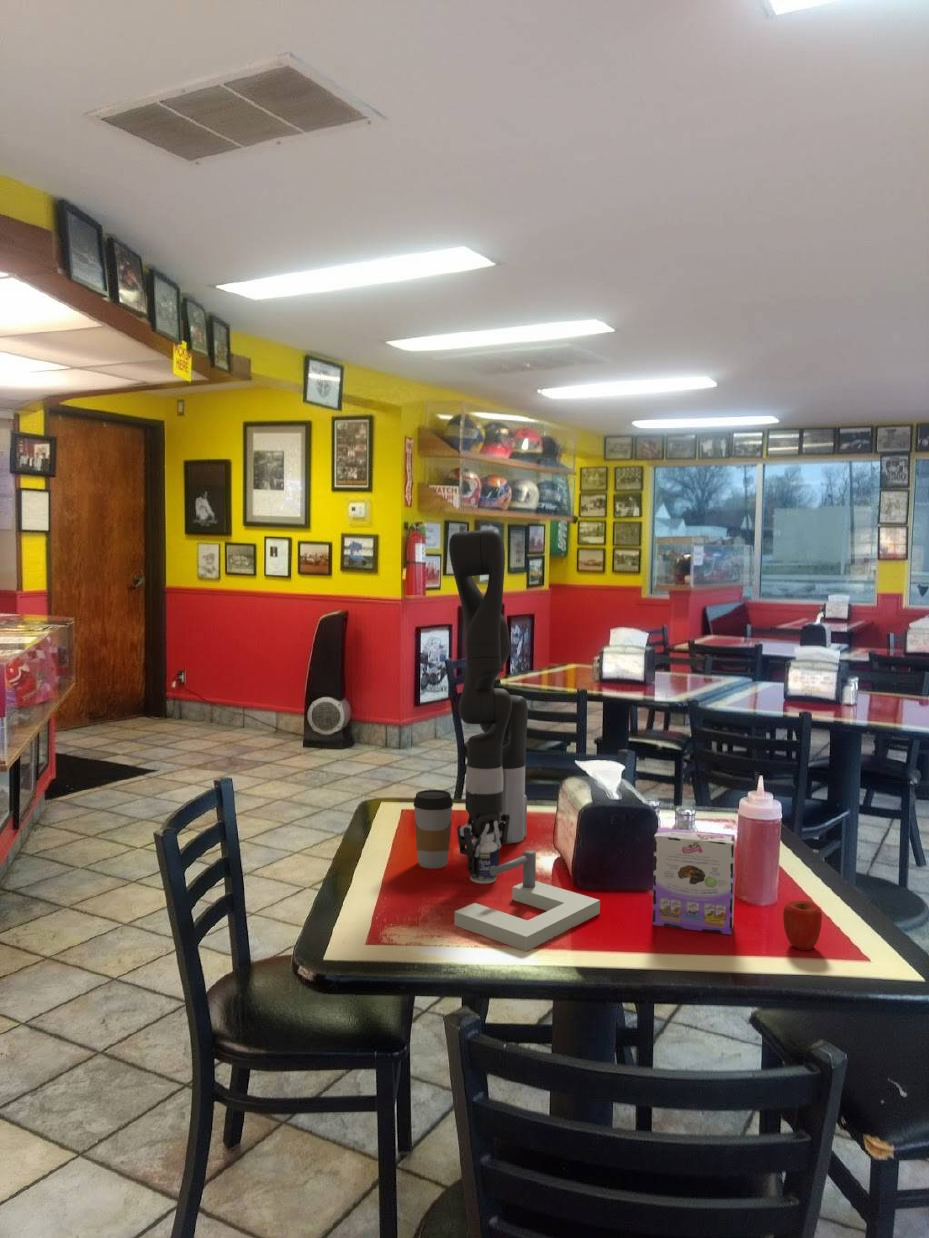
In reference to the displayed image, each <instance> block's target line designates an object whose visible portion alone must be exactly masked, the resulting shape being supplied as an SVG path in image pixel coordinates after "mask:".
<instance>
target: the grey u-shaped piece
mask: <svg viewBox="0 0 929 1238" xmlns="http://www.w3.org/2000/svg"><path fill="white" fill-rule="evenodd" d="M522 854H523V855H521V856H519V857H516V858H514V859H511V860H509V861H507V862H504V863H502V864H498V866H496V867H494V868H491V869H490V874H491V876H495V875H497V876H498V875H500V874H503V873H505V872H507V871H510V870H512V869H514V868H517V867H519V866H522V882H521V883H518V884H516V885H514V886H512V900H513V901H516V902H519V903H522V904H525V905H527V906H530V907H531V906H532V907H534V908H537V909H540V910H544V911H545V912H543V913H541V914H538V915H536V916H534V917H532V918H531V919H528V920H527V919H524V918H521V917H519V916H515V915H512V914H509V913H506V912H503V911H500V910H497V909H495V908H492V907H488V906H485V905H483V904H479V903H477V902H473V903H471V904H468V905H466V906H464V907H462V908H460V909H458V910H454V922H453V923H454V925H453V926H456V927H458V928H460V929H463V930H467V931H469V932H472V933H474V934H477V935H480V936H483V937H485V938H488V939H491V940H493V941H496V942H500V943H502V944H505V945H508V946H510V947H513V948H516V949H519V950H522V951H524V952H528V951H530V950H532V949H534V948H536V947H538V946H540V945H542V944H544V943H546V942H548V941H549V939H550V940H552V939H553V938H555V937H557V936H559V935H561V934H564V933H565V932H567V931H569V930H570V928H571V929H573V928H575V927H576V926H578V925H580V924H582V923H584V922H586V921H588V920H591V919H592V918H594V917H595V916H598V915H599V914H600V913H601V912H600V911H601V910H600V909H601V900H600V899H597V898H593V897H591V896H587V895H584V894H581V893H578V892H574V891H571V890H567V889H564V888H560V887H557V886H555V885H550V884H547V883H544V882H540V881H537V880H536V878H537V877H536V874H537V873H536V870H537V869H536V867H537V866H536V862H537V852H536V851H535V850H528V849H527V850H524V851H523V852H522ZM572 927H573V928H572ZM568 929H569V930H568ZM566 930H567V931H566ZM554 936H555V937H554Z"/></svg>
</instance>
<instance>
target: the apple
mask: <svg viewBox="0 0 929 1238" xmlns="http://www.w3.org/2000/svg"><path fill="white" fill-rule="evenodd" d="M782 914H783V915H782V920H783V921H782V922H783V927H784V929H783V930H784V933H785V935H786V939H787V941H788V942H789V944H790V945H791V946H792V947H794V948H796V949H797V950H801V951H809V950H812V949H813V948H814V947H815V946H816V944H817V943H818V941H819V938H820V933H821V929H822V922H823V920H822V919H823V917H822V910H821V909H820V908H819V906H818V905H816V904H815V903H812V902H811V901H807V900H795V901H794V900H793V901H788V902H787V903H786V904H785V905H784V907H783V913H782Z"/></svg>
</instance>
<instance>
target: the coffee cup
mask: <svg viewBox="0 0 929 1238" xmlns="http://www.w3.org/2000/svg"><path fill="white" fill-rule="evenodd" d="M451 796H452V794H451V793H450V792H449V791H447V790H442V789H424V790H420V791H417V792H416V793H415V797H414V799H413V807H414V818H415V820H414V827H415V841H416V842H415V845H416V852H417V863H418V865H419V866H420V867H421V868H424V869H425V868H426V869H441V868H444V867H446V866H447V865H448V862H449V851H450V844H451V831H452V830H451V829H452V813H453V812H452V811H453V806H454V803H453V801H454V800H453V798H452V797H451Z"/></svg>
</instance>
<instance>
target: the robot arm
mask: <svg viewBox="0 0 929 1238" xmlns="http://www.w3.org/2000/svg"><path fill="white" fill-rule="evenodd" d="M505 550H506V549H505V543H504V539H503V535H502V533H501V532H500V531H499V530H498V529H479V530H468V531H460V532H455V533H453V534H452V535H451V536H450V537H449V543H448V551H449V553H448V554H449V559H450V560H449V561H450V564H451V568H452V573H453V576H454V579H455V580H454V582H455V584H456V589H457V592H458V596H459V601H460V604H461V610H462V615H463V616H462V617H463V624H464V631H465V660H466V662H465V663H466V664H465V676H464V681H463V682H464V683H463V686H462V690H461V694H460V698H459V701H458V702H459V703H458V707H457V708H458V715H459V717H460V719H461V720H462V721H463V722H464V723H465V724H467V725H479V726H480V729H481V731H482V733H479V734H475V735H472V736H470V737H469V738H468V739H467V748H466V752H467V753H466V755H467V756H466V760H467V761H466V764H467V765H466V773H465V804H464V805H465V811H466V812H467V814H468V819H467V823H465V824H464V825H460V824H459V825H458V826H457V827H456V831H457V832H456V833H457V839H458V847H459V853H460V854H461V855H464V856H467V871H468V873H469V875H470V874H473V875H478V874H479V852H480V848H481V846H483V845H484V841H485V837H486V834H489V833H491V832H494V840H493V842H495V843H496V844H497V866H499V863H500V849H501V848H502V846H503V845H505V844H507V845H508V844H509V845H510V844H514V843H520V842H522V841H524V839H525V837H527V836H528V834H527V829H528V828H527V827H528V826H527V825H528V821H527V820H528V816H527V815H528V797H527V795H526V753H527V736H528V735H527V734H528V732H527V731H528V721H529V719H528V718H529V715H528V714H529V710H528V709H529V707H528V703H527V700H526V698H525V697H524V696H522V695H512V694H510V693H509V692H508V691H507V690H506V689H505V688H502V687H501V688H499V687H496V688H494V683H495V681H496V679H497V676H498V675H499V674H500V673H501V671H502V669H503V667H504V665H505V664H506V663H507V661H508V658H509V656H510V654H511V639H510V634H509V626H508V623H507V620H506V618H505V617H504V615H503V614H502V609H503V600H504V599H503V596H504V583H505V581H504V580H505V568H506V567H505V566H506V555H505V554H506V551H505ZM474 576H475V577H478V576H488V578H487V579H488V581H487V587H486V591H485V594H483V593H482V591H481V589H480V588H479V587H478V585H477V584H476V581H475V579H474ZM505 736H507V737H508V736H509V738H508V739H509V740H508V742H507V743H506V744H504V745H503V743H504V740H505V739H504V738H505ZM474 837H475V838H478V839H479V840H478V841H476V840H475V839H474ZM474 844H475V845H476V846H475V849H474V850H473V845H474Z"/></svg>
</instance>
